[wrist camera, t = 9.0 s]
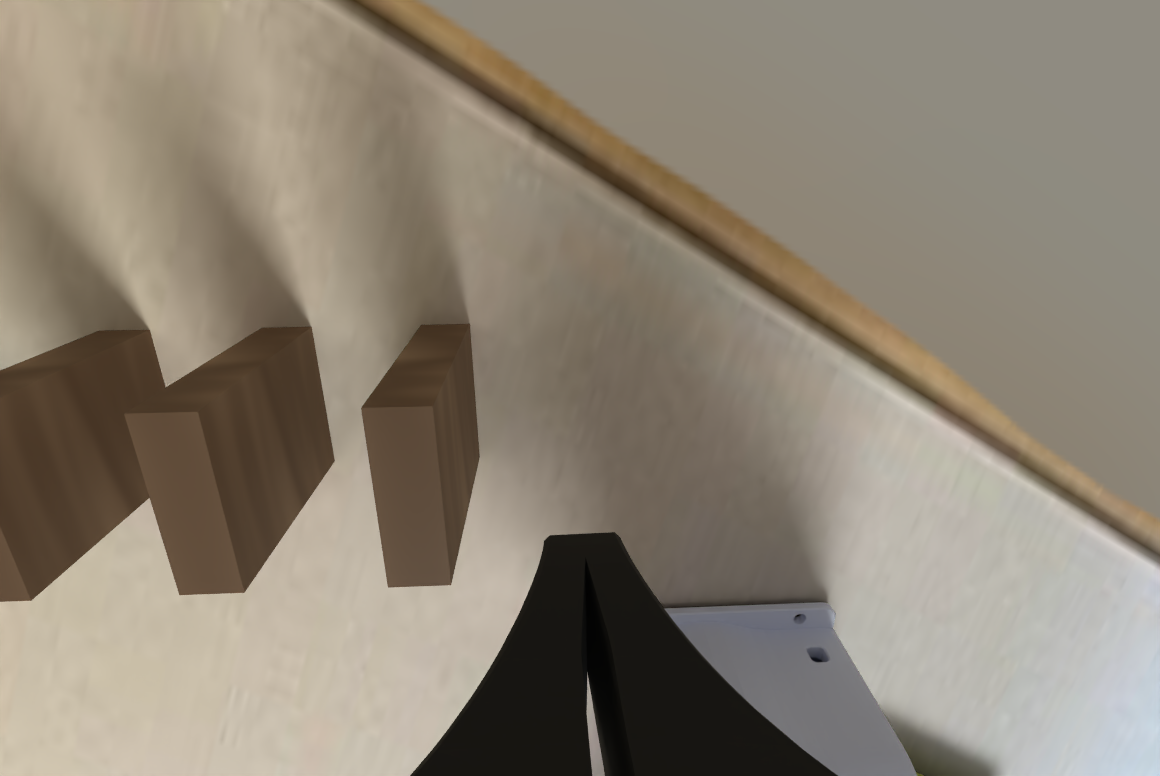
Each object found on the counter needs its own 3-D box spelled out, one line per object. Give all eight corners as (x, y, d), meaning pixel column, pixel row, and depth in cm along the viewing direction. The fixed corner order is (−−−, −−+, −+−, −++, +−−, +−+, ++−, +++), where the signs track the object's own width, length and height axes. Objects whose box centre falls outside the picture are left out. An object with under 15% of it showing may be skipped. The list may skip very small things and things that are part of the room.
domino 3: (469, 324, 20) (432, 406, 14) (479, 457, 22) (450, 585, 16) (421, 324, 20) (361, 407, 14) (435, 458, 22) (387, 587, 16)
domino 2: (311, 326, 20) (197, 411, 14) (334, 461, 22) (244, 592, 15) (262, 327, 20) (124, 413, 13) (289, 462, 22) (179, 595, 15)
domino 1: (149, 330, 20) (-46, 418, 13) (186, 465, 22) (31, 600, 15) (99, 330, 20) (-122, 420, 13) (140, 466, 22) (-36, 603, 15)
